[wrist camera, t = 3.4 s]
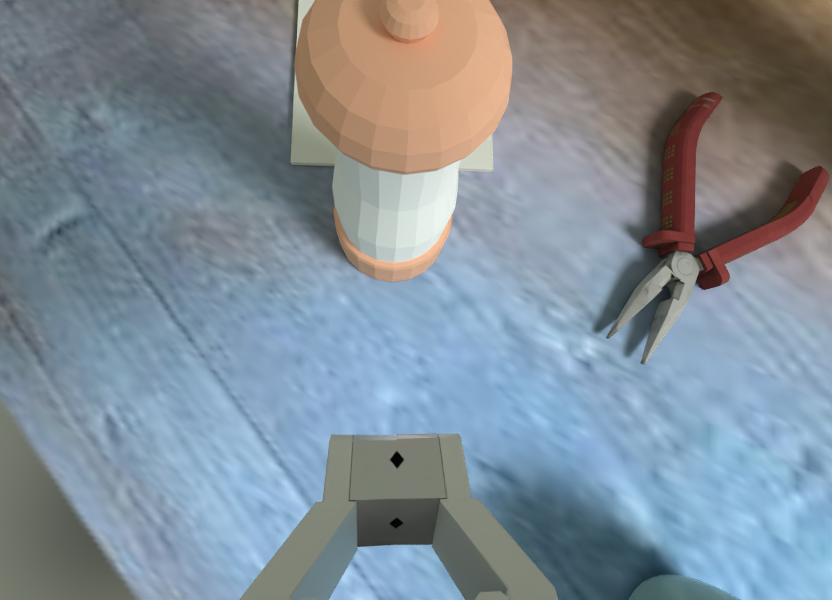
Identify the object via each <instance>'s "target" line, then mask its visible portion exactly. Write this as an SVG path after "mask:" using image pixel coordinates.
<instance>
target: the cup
mask: <svg viewBox="0 0 832 600" xmlns="http://www.w3.org/2000/svg"><path fill="white" fill-rule="evenodd" d="M628 600H741V599H739V598H737V597H735V596H734V595H732V594H730V593H728V592H726V591H724V590H722V589H720V588H717V587H715V586H713V585H710V584H708V583H705V582H702V581H700V580H697V579H694V578H691V577H686V576H680V575H673V574H667V575H658V576H655V577H652V578H649V579H647V580H645V581H644V582H642V583H641V584H640V585H639V586H638V587H637V588H636V589H635V590H634V591H633V593H632V594H631V596H630V597H629V599H628Z"/></svg>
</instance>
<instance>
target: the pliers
mask: <svg viewBox="0 0 832 600" xmlns="http://www.w3.org/2000/svg"><path fill="white" fill-rule="evenodd" d="M721 99H722V96H721V95H720V94H718V93H715V92H710V93H706V94H704V95H702V96H700V97H698V98H697V99H696V100H695V101H694V102H693V103H692V104H691V106H690V107H689V108H688V110H687V111H686V112H685V113H684V115H683V116H682V117H681V119H680V120H679V121H678V123H677V124H676V125H675V126H674V128H673V129H672V130H671V133H670V135H669V137H668V140H667V143H666V147H665V152H664V158H663V173H662V204H661V231H657V232H654V233H652V234H650V235H648V236H646V237H644V238H643V247H646V248H653V249H659V257H664V258H665V259H663V260H662V261H661V262H660V263H659V264H658V265H657V266H656V267H655V268H654V269H653V270H652V271H651V272H650V273H649V274H648V275H647V276H646V277H645V278H644V279H643V280H642V281H641V282H640V283H639V284H638V285H637V287H636V288H635V289H634V291H633V293H632V294H631V296H630V298H629V299H628V301H627V303H626V304H625V306H624V308H623V310H622V311H621V313H620V315H619V316H618V318H617V320H616V321H615V323H614V325H613V326H612V328H611V330H610V331H609V333H608V335H607V336H606V338H607V339H608V338H610V337H611V336H613V335H614V334H615V333H616V332H617V331H618V330H619V329H620V328H621V327H622V326H624V325H625V324H626V323H627V322H628V321H629V320H630V319H631V318H632V317H634V316H635V315H636V314H637V313H638V312H639V311H640V310H641V309H642V308H644V307H645V306H646V305H647V304H648V303H649V302H650V301H651V300H652V299H653V298H654V297H655V296H656V295H657V294H658V293H659V292H660V291H662V289H661V288H662V287H663V286H664V285H665V284H666V285H665V286H667V287H668V288H669V290H670V292H671V297H670V299H668V300H664V301H660V302H659V304H658V306H657V309H656V312H655V315H654V317H653V321H652V324H651V328H650V332H649V335H648V339H647V342H646V346H645V349H644V353H643V357H642V360H641V364H645V363H646V362H647V360H648V359H649V358H650V356H651V355H652V353H653V352H654V351H655V349H656V348H657V346H658V345H659V344H660V342H661V341H662V339H663V338H664V337H665V335H666V334H667V332H668V331H669V330H670V328H671V327H672V326H673V324H674V323H675V321H676V320H677V319H678V317H679V316H680V314H681V313H682V311H683V310H684V308H685V306H686V303H687V301H688V299H689V297H690V295H691V292H692V290H693V287H694V284H695V282H696V279H697V280H698V282H699V284H700V286H701V288H702V290H706V289H710V288H714V287H717V286H720V285H722V284H724V283H726V282H728V281H729V279H730V275H729V272H728V270H727V268H726V266H725V265H724V264H727V263H729V262H731V261H733V260H735V259H737V258H739V257H742V256H744V255H746V254H748V253H750V252H752V251H754V250H757V249H759V248H761V247H763V246H765V245H767V244H769V243H772V242H774V241H776V240H778V239H780V238H782V237H784V236H786V235H787V234H789V233H791V232H792V231H794V230H795V229H797V228H798V227H799V226H800V225H802V224H803V223H804V222H805V221H806V220H807V219H808V218H809V217H810V215H811V214H812V213H813V211H814V209H815V207H816V205H817V203H818V201H819V199H820V197H821V195H822V193H823V191H824V189H825V187H826V185H827V183H828V180H829V174H828V172H827V171H826V170H825V169H824V168H823V167H822V166H817V167H815V168H812V169H810V170H808V171H806V172H805V173H803V174H802V175H801V176H800V178H799V180H798V182H797V183H796V185H795V187H794V189H793V190H792V192H791V194H790V196H789V198H788V200H787V201H786V203H785V205H784V206H783V208H782V209H781V211H780V212H779V213H778V214H777V215H776V216H775V217H774V218H772V219H771V220H770V221H768V222H767V223H765V224H763V225H761V226H759V227H757V228H755V229H753V230H751V231H748V232H746V233H744V234H742V235H740V236H737V237H735V238H733V239H731V240H729V241H726V242H724V243H722V244H720V245H718V246H715V247H713V248H711V249H709V250H707V251H704V252H702V253H700V254H698V255H696V256H693V255H691V254H689V253H691V252H694V244H695V236H696V234H694V222H695V168H696V147H697V141H698V137H699V133H700V131H701V129H702V127H703V125H704V123H705V121H706V120H707V119H708V117H709V116H710V115H711V113H712V112H713V111H714V109H715V108H716V107H717V105H718V104H719V102H720V101H721Z"/></svg>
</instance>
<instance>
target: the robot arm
mask: <svg viewBox="0 0 832 600" xmlns="http://www.w3.org/2000/svg"><path fill="white" fill-rule="evenodd" d="M382 545H432V547H433V549H434V551H435V552H436V554H437V555H438V557H439V559H440V560H441V562H442V563H443V565H444V567H445V568H446V570H447V572H448V573H449V575H450V576H451V578H452V580H453V581H454V583H455V584H456V586H457V588H458V589H459V591H460V592H461V594H462V596H463V597H464V599H465V600H558V597H557V593H556V590H555V587H554V586H553V585H552V584H551V582H550V581H549V580H548V579H547V578H546V577H545V575H544V574H543V573H542V572H541V571H540V570H539V568H538V567H537V566H536V565H535V564H534V563H533V561H532V560H531V559H530V558H529V557H528V556H527V555H526V553H525V552H524V551H523V550H522V549H521V548H520V546H519V545H518V544H517V543H516V542H515V541H514V539H513V538H512V537H511V536H510V535H509V534H508V532H507V531H506V530H505V529H504V528H503V527H502V525H501V524H500V523H499V522H498V521H497V520H496V519H495V517H494V516H493V515H492V514H491V513H490V512H489V510H488V509H487V508H486V507H485V506H484V505H483V503H482V502H481V501H480V500H479V499H475V498H472V496H471V491H470V485H469V479H468V474H467V468H466V463H465V457H464V451H463V446H462V440H461V437H460V435H459V434H438V435H437V434H397V435H331V438H330V441H329V450H328V459H327V467H326V476H325V485H324V493H323V502H316V503H315V504H314V505H313V506H312V508H311V509H310V510H309V511H308V513H307V514H306V515H305V517H304V518H303V519H302V520H301V522H300V523H299V524H298V526H297V527H296V528H295V529H294V531H293V532H292V533H291V534H290V536H289V537H288V538H287V540H286V541H285V542H284V543H283V545H282V546H281V547H280V548H279V550H278V551H277V552H276V554H275V555H274V556H273V557H272V559H271V560H270V561H269V563H268V564H267V565H266V566H265V568H264V569H263V570H262V571H261V573H260V574H259V575H258V577H257V578H256V579H255V580H254V582H253V583H252V584H251V585H250V587H249V588H248V589H247V591H246V592H245V593H244V594H243V596H242V597H241V598H240V600H329V598H330V596H331V595H332V593H333V591H334V589H335V588H336V586H337V584H338V582H339V581H340V579H341V577H342V575H343V574H344V572H345V570H346V568H347V567H348V565H349V563H350V561H351V560H352V558H353V556H354V554H355V553H356V551H357V547H365V546H382Z"/></svg>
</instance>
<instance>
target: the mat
mask: <svg viewBox="0 0 832 600" xmlns="http://www.w3.org/2000/svg"><path fill="white" fill-rule="evenodd" d="M314 1H315V0H299V5H298V25H297V43H298V38H299V34H300V29H301V25H302V20H303V18H304V17H305V15H306V14H307V12H308V10H309V9H310V7H311V6H312V4H313V3H314ZM296 47H297V44H296ZM335 159H336V150H335V146H334V145H333V144H332V143H331V142H330V141H329V140H328V139H327V138H326V137H325V136H324V135H323V134H322V133H321V132H320V131H319V130H318V129H317V128H316V127H315V126H314V125H313V123H312V121H311V119H310V117H309V115H308V114H307V112H306V110H305V108H304V106H303V104H302V102H301V100H300V98H299V96H298V88H297V81H296V74H295V83H294V103H293V122H292V142H291V161H290V162H291V165H311V166H335ZM458 171H474V172H492V171H493V147H492V134H491V135H490V136H489V137H488V138H487V139H486V140H485V141H484V142H483V143H482V144H481V145H480V146H479V147H478V148H477V149H475V150H474V151H473V152H472V153H471V154H470V155H468V156H467V157H465V158H463V159H461V162H460V164H459V167H458Z"/></svg>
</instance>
